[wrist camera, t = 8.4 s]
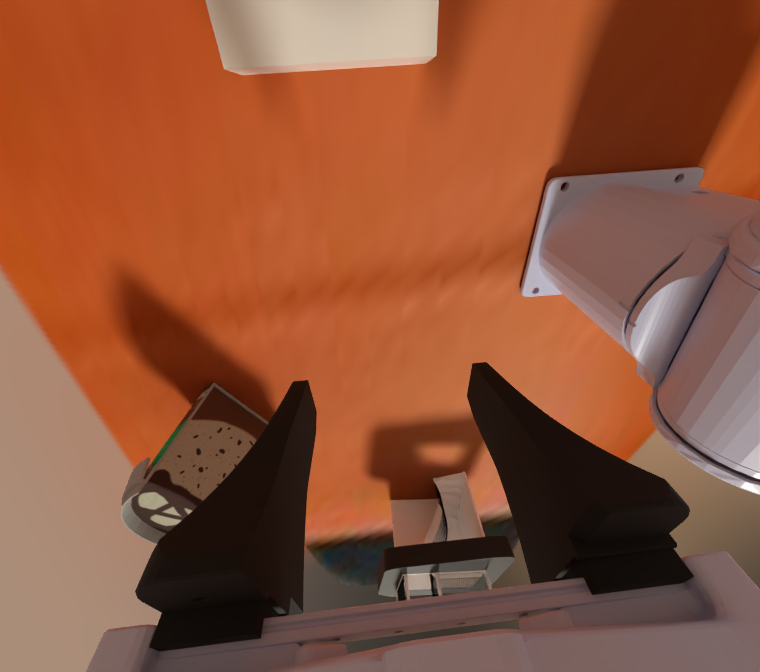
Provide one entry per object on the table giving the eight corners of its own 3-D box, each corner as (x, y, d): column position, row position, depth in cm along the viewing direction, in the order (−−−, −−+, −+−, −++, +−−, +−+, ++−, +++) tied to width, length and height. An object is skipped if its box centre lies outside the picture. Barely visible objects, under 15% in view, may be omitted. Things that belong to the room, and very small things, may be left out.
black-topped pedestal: (567, 420, 34) (665, 563, 23) (495, 523, 49) (533, 638, 39) (312, 419, 31) (289, 582, 20) (320, 529, 47) (309, 654, 36)
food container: (151, 399, 27) (66, 519, 19) (199, 371, 26) (128, 489, 18) (252, 461, 34) (220, 569, 26) (295, 442, 32) (275, 551, 24)
